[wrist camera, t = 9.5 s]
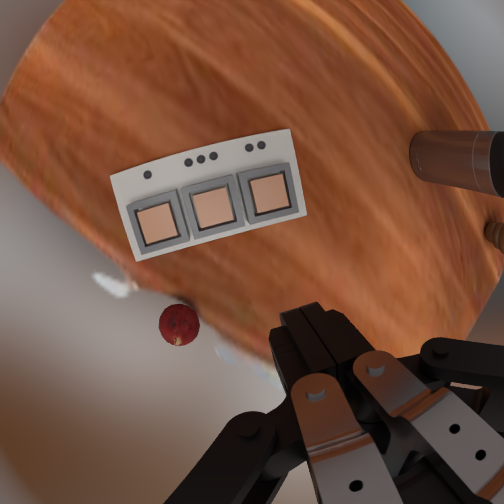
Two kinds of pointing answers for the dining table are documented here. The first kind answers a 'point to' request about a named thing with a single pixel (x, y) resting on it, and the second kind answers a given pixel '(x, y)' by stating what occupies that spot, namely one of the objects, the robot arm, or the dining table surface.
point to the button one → (158, 222)
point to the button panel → (206, 178)
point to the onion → (179, 324)
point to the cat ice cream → (496, 235)
